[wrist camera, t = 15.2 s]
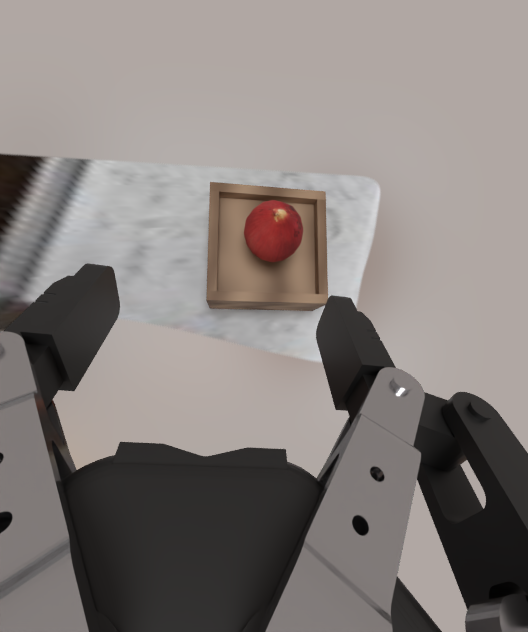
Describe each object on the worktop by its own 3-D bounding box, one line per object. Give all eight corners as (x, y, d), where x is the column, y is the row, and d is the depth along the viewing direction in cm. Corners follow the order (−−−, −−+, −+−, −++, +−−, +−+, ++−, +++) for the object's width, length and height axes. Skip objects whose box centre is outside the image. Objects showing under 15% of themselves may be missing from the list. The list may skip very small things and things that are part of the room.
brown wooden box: (210, 308, 35) (206, 300, 28) (212, 210, 36) (210, 182, 30) (310, 311, 36) (328, 303, 30) (309, 217, 38) (325, 191, 32)
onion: (273, 212, 32) (289, 167, 24) (302, 253, 32) (328, 220, 24) (231, 238, 31) (235, 199, 23) (262, 280, 31) (276, 255, 23)
